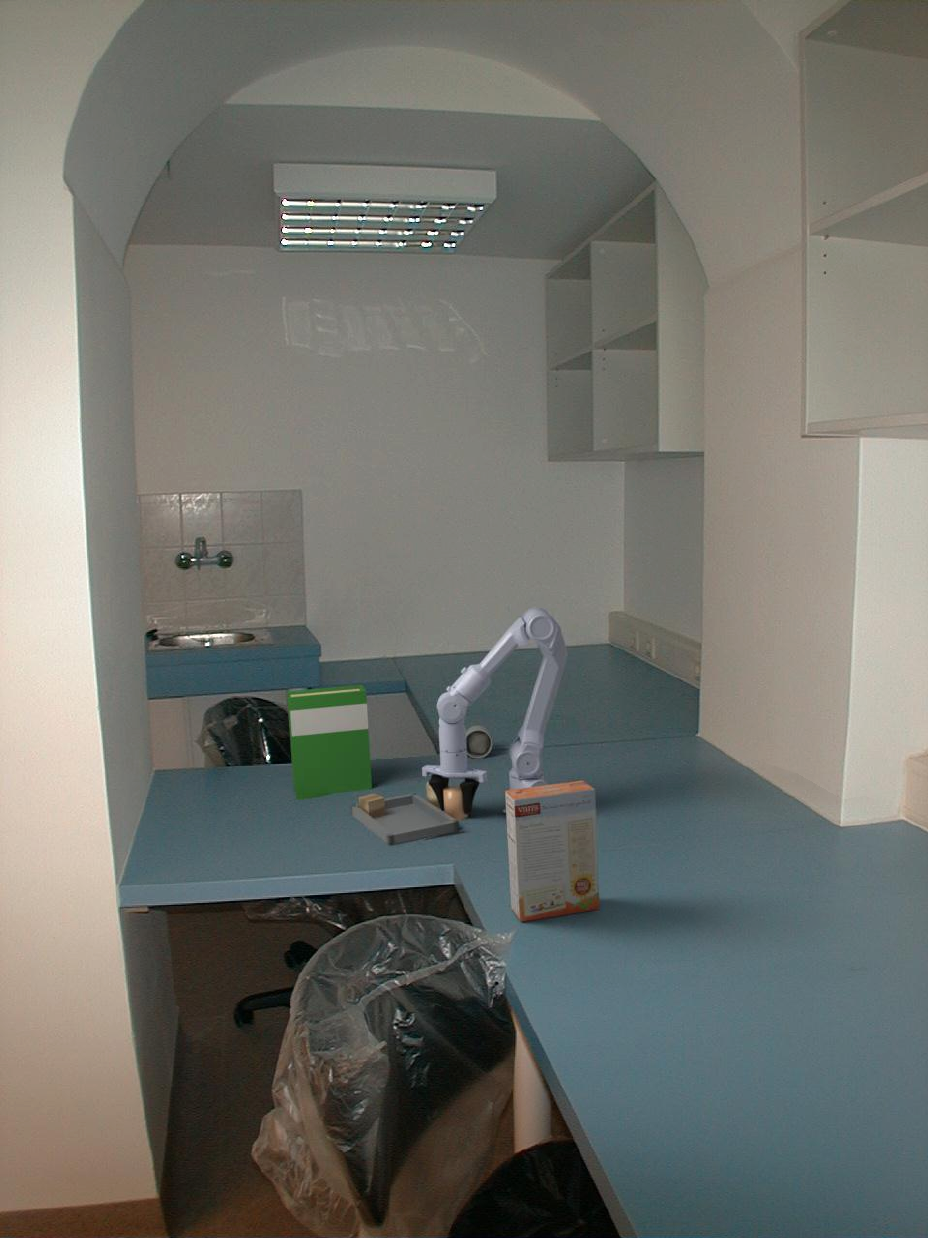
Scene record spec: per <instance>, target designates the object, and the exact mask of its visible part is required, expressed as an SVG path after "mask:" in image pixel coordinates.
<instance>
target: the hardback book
mask: <svg viewBox="0 0 928 1238" xmlns="http://www.w3.org/2000/svg"><path fill="white" fill-rule="evenodd" d="M286 698H287V699H286V700H287V714H288V715H287V716H288V727H289V743H290V753H291V755H290V756H291V770H292V785H293V792H295V800H296V801H298V800H299V801H300V800H307V799H316V798H320V797H325V796H328V795H332V794H339V793H340V794H341V793H350V792H358V791H359V792H360V791H365V790H366V791H367V790H372V789H373V785H372V784H373V783H372V782H373V781H372V766H371V748H370V734H369V733H370V732H369V731H370V730H369V718H368V717H369V715H368V699H367V689H366V688H364V686H363V684H356V685H346V686H343V685H342V686H334V687H324V688H322V687H321V688H312V689H311V688H310V689H302V690H289V691H286Z"/></svg>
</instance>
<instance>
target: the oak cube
mask: <svg viewBox="0 0 928 1238" xmlns="http://www.w3.org/2000/svg"><path fill="white" fill-rule="evenodd" d="M384 799H385V797H383V796H382V795H379V794H377V793H372V794H367V795H364V796H359V797H358V804H359V808H360V809H362V810H363V811H364V812H365V813H367V814H368V815H369V816H371V817H372V818H373V819H375V818H379V817H382V816H385V801H384Z"/></svg>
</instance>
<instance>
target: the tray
mask: <svg viewBox="0 0 928 1238" xmlns="http://www.w3.org/2000/svg"><path fill="white" fill-rule="evenodd" d="M384 801H385V816H382V817H379V818H375V819H373V818H372V817H371V816H369V815H368V814H367V813H365V812H364V811H363V810H362V809H360V808H359V803H356V804H351V805H349V812H350V815H351V816H353V818H355V819H356V820H357V821H358V822H360V823H361V824H362V825H363V826H364V827H365V828H367V829H368V830H369V831H371V832H372V833H373V834H375V836H377V837H378V838H379V839H380V840H382V841H383V843H386V844H387V845H388V846H393V845H398V844H402V843H407V842H412V841H417V840H422V839H425V841H427V840H433V839H436V838H441V837H445V836H446V837H447V836H451V835H455V834H459V833H460V822H459V821H460V820H456V819H454V818H453V817H451V816H450V815H448V814H446V813H445V812H444V811H442V810H441V809H439V808H437V807H436V806H434V805H433V804H431V803H429V802H428V801H427V799H425V798H423V797H422V796H420V795H419V794H417V793H415V792H414V793H409V794H402V795H398V796H393V797H387V798H384Z"/></svg>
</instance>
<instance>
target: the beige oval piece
mask: <svg viewBox="0 0 928 1238" xmlns="http://www.w3.org/2000/svg"><path fill="white" fill-rule="evenodd" d="M425 784H426V785H425V789H426V801H428V802H429V803H431V804H433V805H434V806H436V807H437V808H439V809H440V806H439V803H438V800H437V797H436V795H435V793H434V791H433V789H432V788H431V786H430V785H429V781H427V782H426V783H425ZM448 786H450V782H449V783H448ZM440 810H441V809H440Z"/></svg>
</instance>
